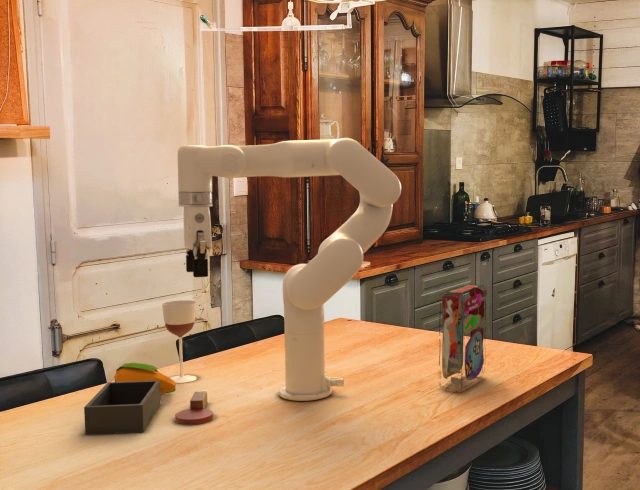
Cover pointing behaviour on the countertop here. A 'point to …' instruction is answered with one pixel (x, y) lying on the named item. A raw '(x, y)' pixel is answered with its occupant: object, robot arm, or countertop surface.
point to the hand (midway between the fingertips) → (196, 274)
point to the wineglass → (180, 327)
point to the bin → (122, 407)
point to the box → (457, 327)
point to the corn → (144, 376)
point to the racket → (195, 411)
